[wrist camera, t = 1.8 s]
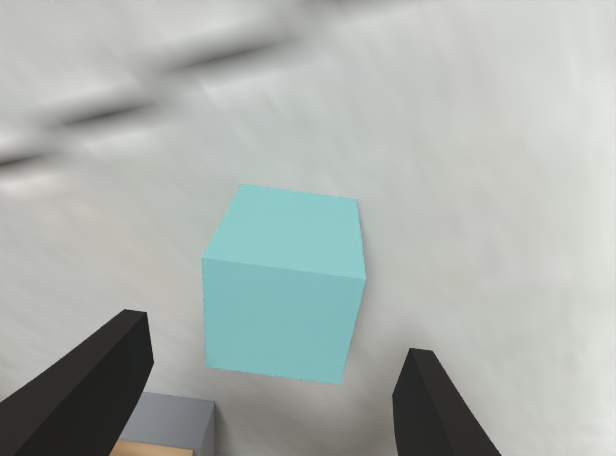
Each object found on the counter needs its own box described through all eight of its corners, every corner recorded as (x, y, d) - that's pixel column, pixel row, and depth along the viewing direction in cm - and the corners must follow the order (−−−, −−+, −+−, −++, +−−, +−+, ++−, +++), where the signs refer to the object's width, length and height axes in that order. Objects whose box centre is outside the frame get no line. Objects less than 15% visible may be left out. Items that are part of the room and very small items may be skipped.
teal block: (239, 274, 17) (205, 367, 12) (241, 183, 14) (201, 257, 10) (338, 287, 17) (340, 384, 12) (356, 198, 14) (366, 279, 10)
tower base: (114, 445, 25) (89, 495, 23) (97, 379, 22) (64, 430, 19) (216, 459, 25) (203, 510, 23) (216, 396, 22) (200, 448, 19)
